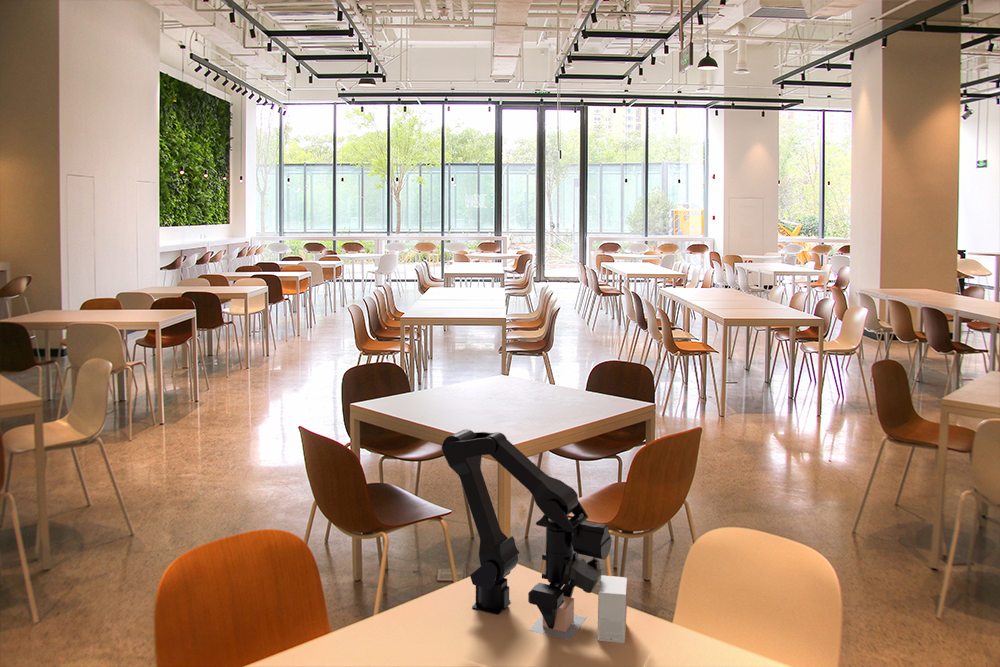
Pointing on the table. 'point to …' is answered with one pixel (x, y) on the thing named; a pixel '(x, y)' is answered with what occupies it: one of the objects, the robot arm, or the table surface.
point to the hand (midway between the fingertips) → (558, 619)
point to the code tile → (556, 633)
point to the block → (564, 615)
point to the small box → (612, 609)
